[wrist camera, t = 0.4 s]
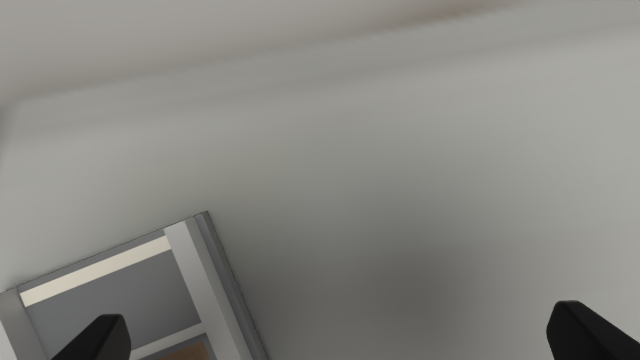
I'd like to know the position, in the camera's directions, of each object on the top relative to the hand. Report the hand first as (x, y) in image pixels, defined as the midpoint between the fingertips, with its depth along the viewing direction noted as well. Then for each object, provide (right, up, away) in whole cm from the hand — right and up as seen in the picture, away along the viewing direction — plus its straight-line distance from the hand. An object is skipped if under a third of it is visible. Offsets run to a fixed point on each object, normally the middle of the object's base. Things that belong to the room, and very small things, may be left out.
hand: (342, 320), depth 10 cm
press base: (-9, -7, +14) cm, 18 cm away
